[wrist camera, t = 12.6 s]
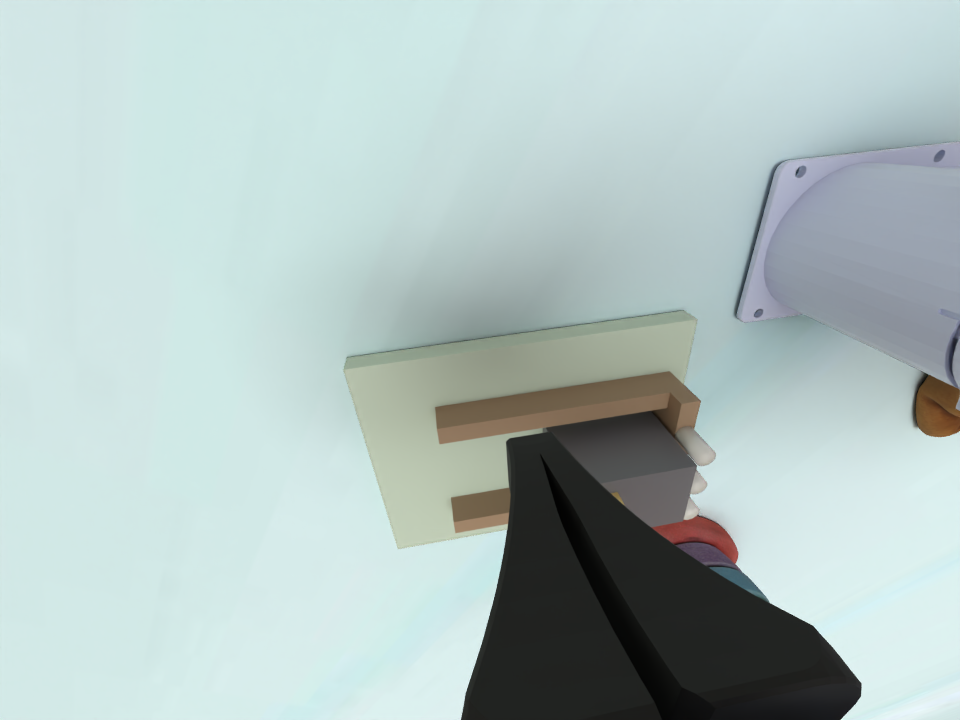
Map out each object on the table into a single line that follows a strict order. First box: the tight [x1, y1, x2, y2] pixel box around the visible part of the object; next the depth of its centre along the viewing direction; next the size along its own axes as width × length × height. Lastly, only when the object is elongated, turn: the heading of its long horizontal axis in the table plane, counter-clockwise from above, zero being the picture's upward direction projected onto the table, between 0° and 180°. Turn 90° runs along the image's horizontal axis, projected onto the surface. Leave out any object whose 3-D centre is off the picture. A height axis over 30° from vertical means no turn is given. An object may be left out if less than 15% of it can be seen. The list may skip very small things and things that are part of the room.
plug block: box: [543, 411, 697, 527], centre depth 21 cm, size 6×4×6 cm, turn 96°
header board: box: [343, 310, 716, 549], centre depth 22 cm, size 18×14×6 cm
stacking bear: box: [651, 516, 769, 603], centre depth 25 cm, size 11×10×18 cm
